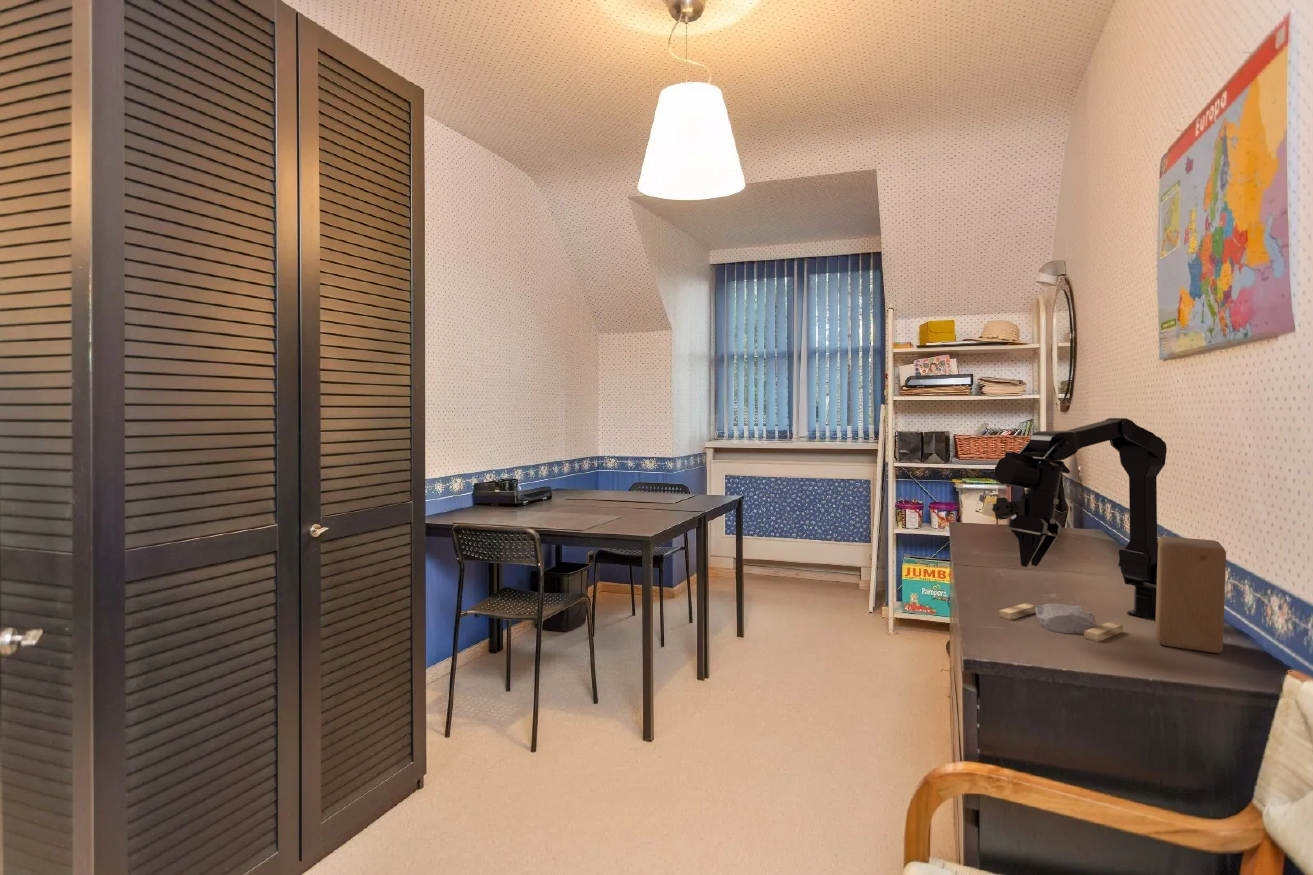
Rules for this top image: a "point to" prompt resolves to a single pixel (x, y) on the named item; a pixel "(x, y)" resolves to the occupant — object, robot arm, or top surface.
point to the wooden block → (1190, 594)
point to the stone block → (1065, 618)
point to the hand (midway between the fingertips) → (1029, 566)
